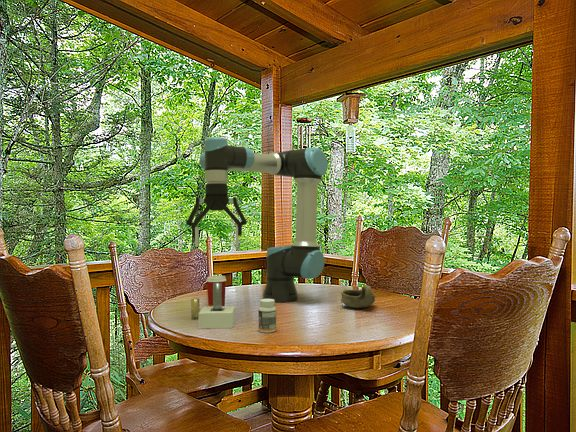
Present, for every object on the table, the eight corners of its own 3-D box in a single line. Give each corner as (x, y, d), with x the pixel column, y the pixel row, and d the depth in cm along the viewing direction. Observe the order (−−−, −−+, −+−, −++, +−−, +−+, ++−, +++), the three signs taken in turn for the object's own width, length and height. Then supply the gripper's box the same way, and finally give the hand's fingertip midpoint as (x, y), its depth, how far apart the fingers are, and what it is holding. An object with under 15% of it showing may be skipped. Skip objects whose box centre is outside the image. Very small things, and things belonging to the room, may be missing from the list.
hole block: (235, 320, 161) (235, 306, 161) (232, 328, 150) (232, 312, 150) (203, 320, 161) (203, 306, 161) (198, 328, 150) (198, 313, 150)
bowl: (366, 303, 190) (366, 279, 190) (385, 312, 173) (385, 285, 173) (335, 305, 186) (334, 280, 186) (351, 314, 169) (351, 287, 169)
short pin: (200, 317, 166) (200, 298, 166) (198, 319, 163) (198, 299, 163) (192, 317, 166) (191, 298, 166) (190, 319, 163) (189, 300, 163)
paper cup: (230, 312, 173) (230, 275, 173) (221, 317, 166) (220, 278, 166) (212, 311, 176) (211, 275, 176) (202, 315, 169) (201, 277, 169)
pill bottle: (258, 328, 149) (258, 298, 149) (275, 328, 150) (275, 298, 150) (258, 333, 144) (258, 301, 144) (276, 332, 144) (276, 301, 144)
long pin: (222, 323, 157) (222, 282, 157) (221, 325, 154) (221, 283, 154) (213, 323, 157) (213, 282, 157) (212, 325, 154) (212, 284, 154)
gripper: (253, 183, 159) (254, 244, 160) (181, 184, 159) (182, 245, 159) (252, 182, 152) (253, 246, 152) (177, 183, 151) (177, 247, 151)
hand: (217, 246), depth 156 cm, fingers open, 13 cm apart
